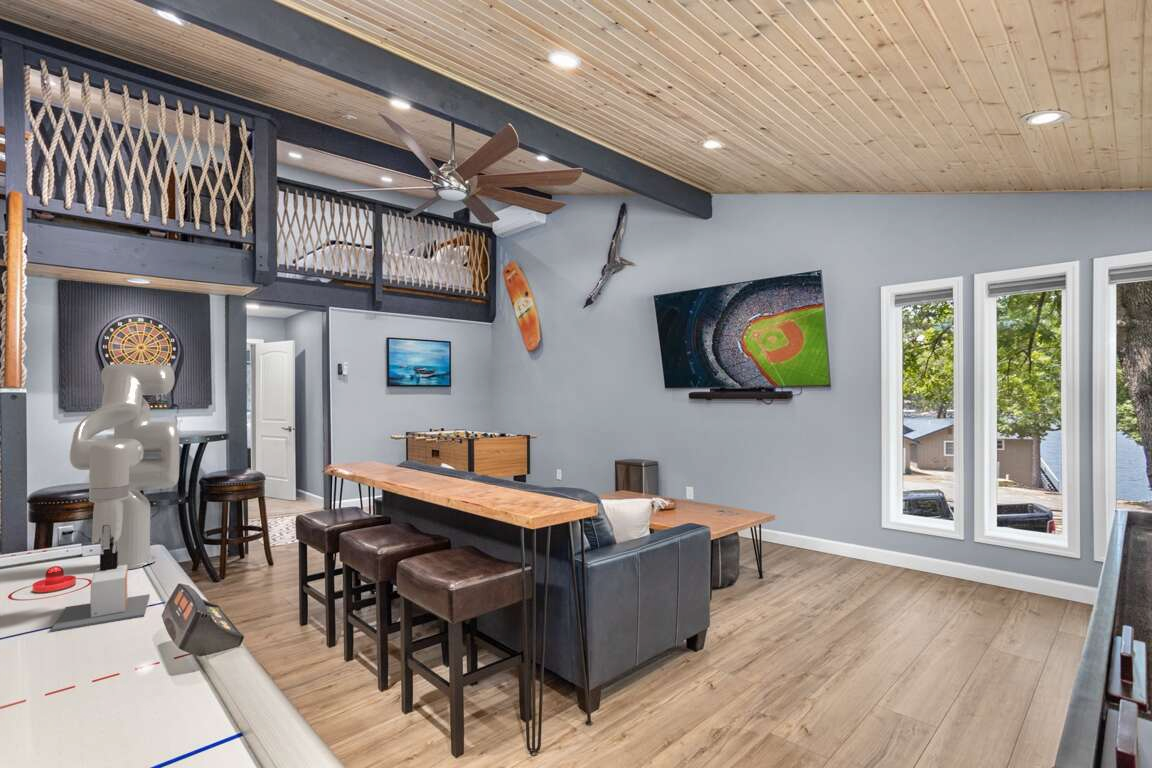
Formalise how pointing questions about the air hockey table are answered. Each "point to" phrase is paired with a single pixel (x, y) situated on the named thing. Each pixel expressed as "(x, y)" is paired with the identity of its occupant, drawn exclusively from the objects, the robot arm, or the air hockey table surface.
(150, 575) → the air hockey table surface
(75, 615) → the mat
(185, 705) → the air hockey table surface
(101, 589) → the small box
